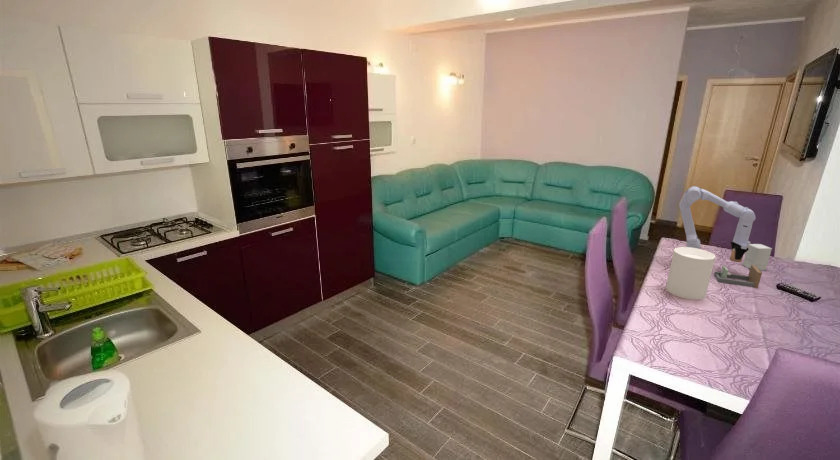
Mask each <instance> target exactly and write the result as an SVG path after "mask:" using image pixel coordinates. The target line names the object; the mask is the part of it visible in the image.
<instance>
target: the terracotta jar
mask: <svg viewBox="0 0 840 460" xmlns="http://www.w3.org/2000/svg"><path fill="white" fill-rule="evenodd" d="M743 258H744V255H743V256H742V258H741V260H736V259H735V248H733V249H732V248H731V251H730V255H729V261H731V262H734V263H741V262H742V263H743Z"/></svg>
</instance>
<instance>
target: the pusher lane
mask: <svg viewBox="0 0 840 460" xmlns="http://www.w3.org/2000/svg"><path fill="white" fill-rule="evenodd" d="M713 275H714V277H715V278H716V281H717V282H718V283H722V284H730V285H736V286H743V287H750V288H756V289H758V288H759V286H760V282H761V278H762V276H763V272H762V270H759V269H758V268H757V267H756V266H755V265H751V268H749V272H748V275H743V274H736V273H731V275H730V276H729V275H727V278H721V277H720V275H721V271H714V274H713Z"/></svg>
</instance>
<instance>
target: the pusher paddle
mask: <svg viewBox="0 0 840 460" xmlns="http://www.w3.org/2000/svg"><path fill="white" fill-rule="evenodd" d="M720 272H721V275H720V278H726V279H728V278H727V275H729V276H730V275H731V274H732V273H731V272H729V269H728V268H727V266H726V265H722V268H721V271H720Z"/></svg>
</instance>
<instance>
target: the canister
mask: <svg viewBox="0 0 840 460" xmlns="http://www.w3.org/2000/svg"><path fill="white" fill-rule="evenodd" d="M715 261H716V255H715V253H713V252H710V251H707V250H705V249H701V248H700V249H697V248H691V247H686V246H680V247H675V248H674V249H673V253H672V259H671V263H670V266H669V270H668V271H669V272H668V276H667V281H666V284H665V285H666V287H665V289H666V291H667V292H668V293H670V294H671V295H674V296H677V297H679V298H682V299H686V300H691V301H692V300H693V301H695V300H696V301H700V300H704V299H706V298H707V292H708V289H709V285H710V280H711V278H712V277H711V276H712V272H713V269H714V268H713V267H714V264H715Z"/></svg>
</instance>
